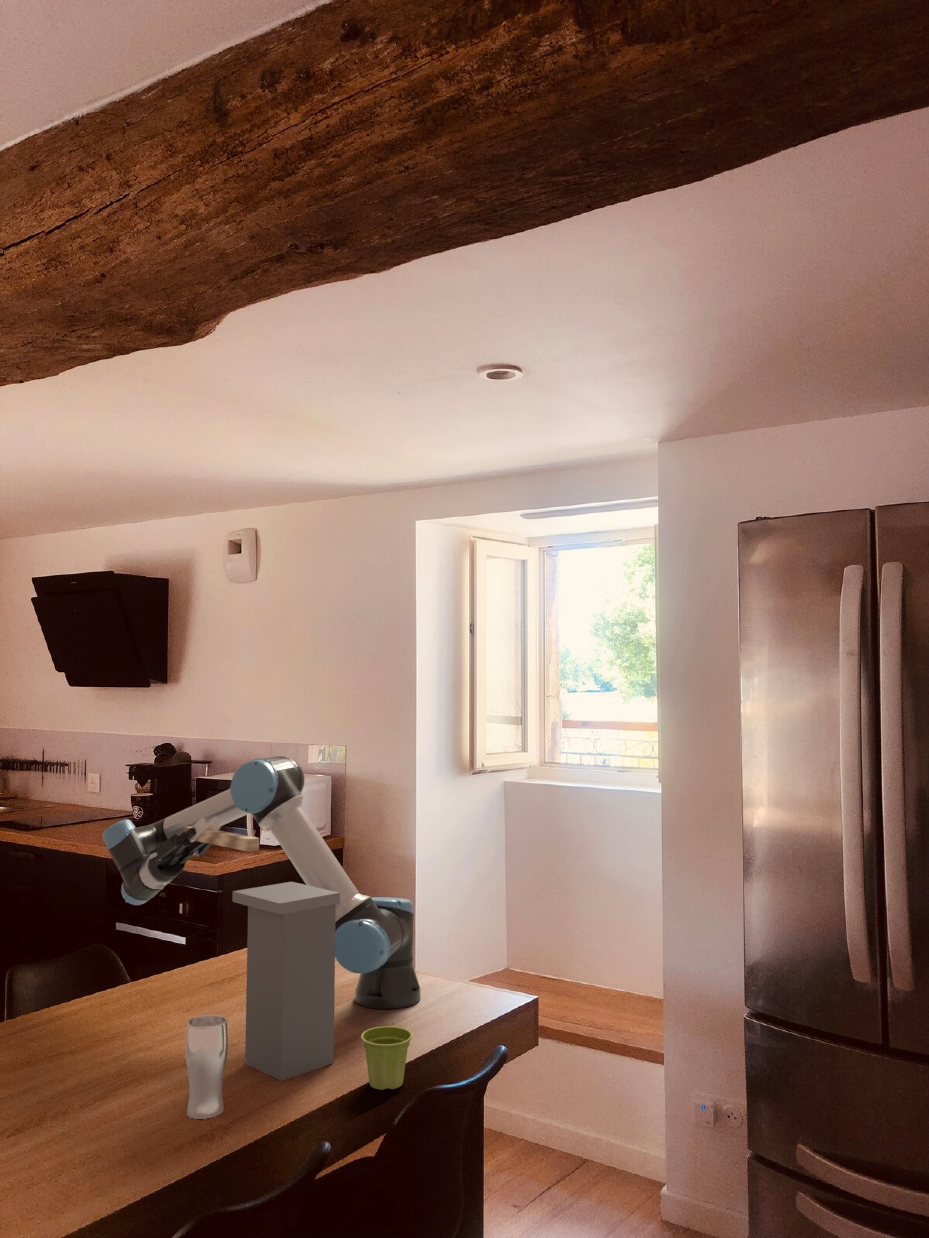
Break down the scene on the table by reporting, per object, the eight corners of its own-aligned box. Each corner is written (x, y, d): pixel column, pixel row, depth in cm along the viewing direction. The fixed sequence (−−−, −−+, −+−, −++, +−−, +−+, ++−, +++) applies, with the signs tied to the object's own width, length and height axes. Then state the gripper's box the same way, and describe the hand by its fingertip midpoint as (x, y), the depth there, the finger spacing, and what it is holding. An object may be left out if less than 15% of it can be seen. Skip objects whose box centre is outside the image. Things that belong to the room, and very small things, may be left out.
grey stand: (229, 1059, 187) (232, 891, 189) (289, 1041, 197) (291, 881, 199) (276, 1082, 176) (279, 903, 178) (337, 1061, 186) (339, 892, 188)
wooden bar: (183, 838, 214) (183, 826, 215) (193, 837, 216) (193, 825, 216) (248, 851, 196) (248, 839, 197) (258, 850, 198) (259, 837, 198)
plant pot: (422, 1080, 177) (422, 1031, 177) (391, 1098, 169) (391, 1047, 169) (381, 1070, 182) (382, 1022, 182) (349, 1087, 174) (350, 1037, 174)
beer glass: (214, 1122, 159) (217, 1028, 160) (176, 1118, 160) (178, 1026, 162) (233, 1105, 166) (235, 1015, 167) (195, 1101, 167) (198, 1012, 168)
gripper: (197, 877, 226) (246, 835, 213) (134, 886, 215) (182, 843, 202) (189, 847, 230) (237, 804, 216) (127, 855, 219) (174, 810, 205)
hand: (210, 823), depth 209 cm, fingers closed on wooden bar, 2 cm apart
